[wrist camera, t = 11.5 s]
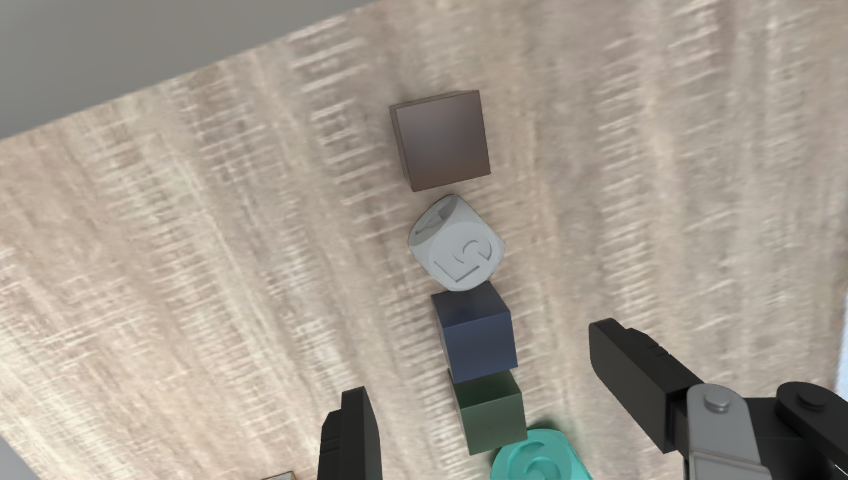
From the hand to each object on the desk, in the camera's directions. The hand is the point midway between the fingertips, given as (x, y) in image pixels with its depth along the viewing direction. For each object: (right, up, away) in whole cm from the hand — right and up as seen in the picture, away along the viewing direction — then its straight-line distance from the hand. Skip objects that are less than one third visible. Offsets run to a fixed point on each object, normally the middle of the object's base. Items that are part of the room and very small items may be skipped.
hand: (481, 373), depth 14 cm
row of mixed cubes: (+1, +2, +19) cm, 19 cm away
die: (0, +5, +18) cm, 18 cm away
